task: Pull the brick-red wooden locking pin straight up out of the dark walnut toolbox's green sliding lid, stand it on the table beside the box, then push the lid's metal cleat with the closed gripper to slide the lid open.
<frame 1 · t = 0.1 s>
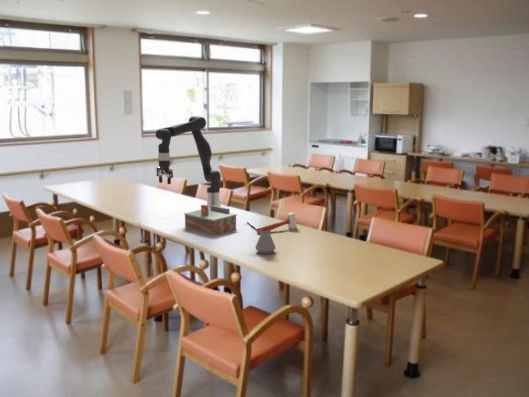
hand: (164, 183, 354), 29 cm above the table, tool pointing down, fingers open, 8 cm apart
toolbox: (210, 228, 353), on the table
toolbox lid: (210, 212, 351), point 11 cm above the table, slide at 0.0 cm
mallet: (277, 231, 349), on the table
locking pin: (204, 222, 349), point 5 cm above the table, touching toolbox
coffee pot: (259, 250, 305), on the table
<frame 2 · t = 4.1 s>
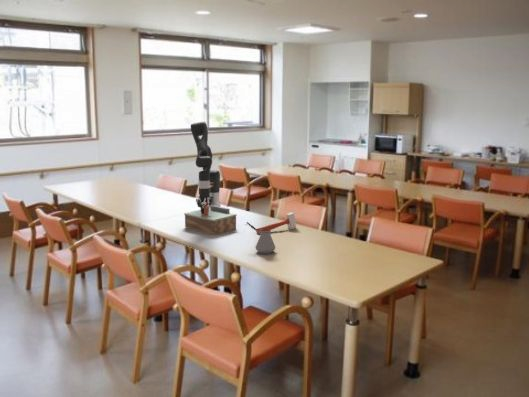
hand: (204, 212, 347), 12 cm above the table, tool pointing down, fingers closed on locking pin, 3 cm apart
locking pin: (204, 222, 349), point 5 cm above the table, touching gripper
everything else where it was.
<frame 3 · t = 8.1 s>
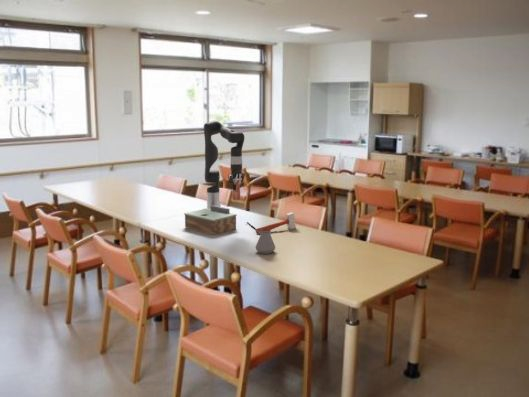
hand: (236, 189, 342), 28 cm above the table, tool pointing down, fingers closed on locking pin, 3 cm apart
locking pin: (236, 199, 344), point 21 cm above the table, touching gripper
everything else where it was.
when the fingers open (8 cm above the table, at t = 12.5 s): locking pin drops 2 cm, on the table.
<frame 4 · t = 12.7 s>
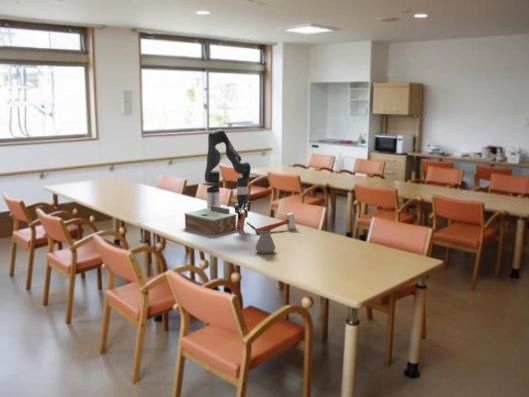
hand: (242, 218, 346), 8 cm above the table, tool pointing down, fingers open, 5 cm apart
locking pin: (239, 229, 350), on the table, tilted 11°
everything else where it was.
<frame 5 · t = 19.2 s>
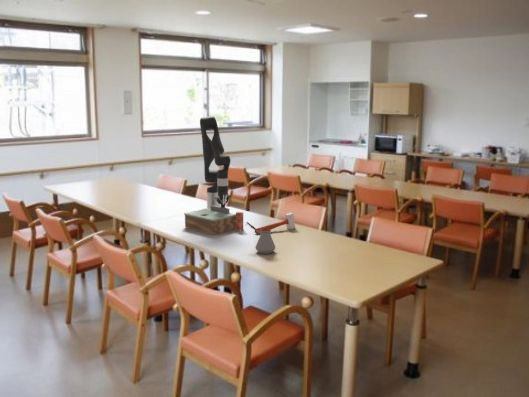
hand: (223, 209, 360), 11 cm above the table, tool pointing down, fingers closed
toolbox lid: (210, 212, 351), point 11 cm above the table, slide at 0.1 cm, touching gripper
locking pin: (239, 229, 350), on the table
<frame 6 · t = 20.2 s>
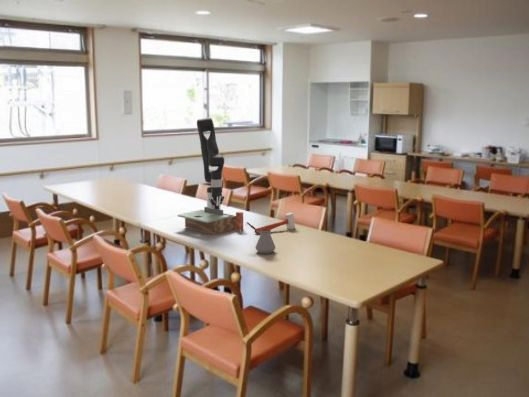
hand: (216, 211, 355), 11 cm above the table, tool pointing down, fingers closed
toolbox lid: (203, 213, 347), point 11 cm above the table, slide at 5.9 cm, touching gripper
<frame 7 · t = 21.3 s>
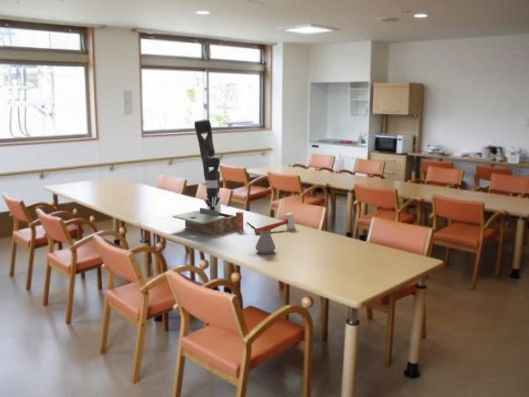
hand: (212, 212, 352), 11 cm above the table, tool pointing down, fingers closed
toolbox lid: (199, 214, 343), point 11 cm above the table, slide at 10.1 cm, touching gripper
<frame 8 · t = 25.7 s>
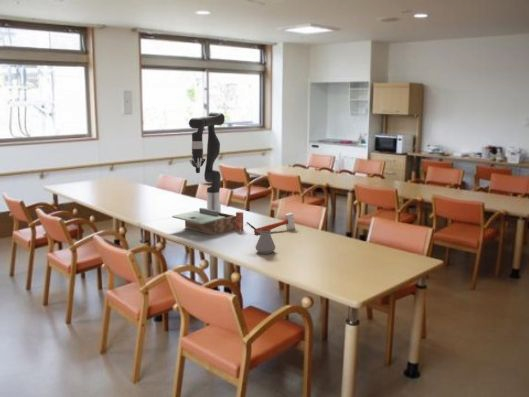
hand: (197, 172, 362), 35 cm above the table, tool pointing down, fingers closed
toolbox lid: (198, 214, 343), point 11 cm above the table, slide at 10.4 cm
at the end: toolbox lid slide at 10.4 cm; locking pin inside the target area (2.9 cm from its centre), on the table; the gripper is holding nothing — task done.
